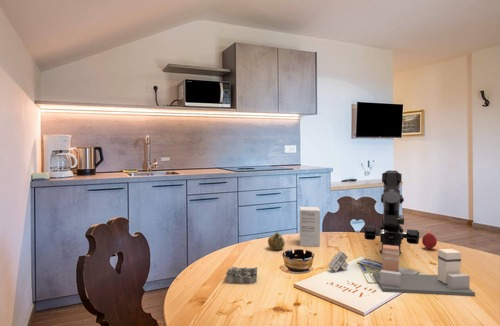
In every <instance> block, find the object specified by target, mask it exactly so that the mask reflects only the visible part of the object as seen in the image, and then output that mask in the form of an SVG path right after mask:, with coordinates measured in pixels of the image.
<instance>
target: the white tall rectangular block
mask: <svg viewBox="0 0 500 326" xmlns="http://www.w3.org/2000/svg"><path fill="white" fill-rule="evenodd" d="M437 253H438V254H437V275H438V280H440V281H442V282H444V283H445V284H447V283H448V274H461V265H462V263H461V261H462V259H461V258H462V252H460V251H459V250H456V249H454V248H443V249H440V248H439V249H438V252H437Z"/></svg>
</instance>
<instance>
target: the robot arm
mask: <svg viewBox="0 0 500 326" xmlns="http://www.w3.org/2000/svg"><path fill="white" fill-rule="evenodd" d="M402 176H403V175H402V173H400V172H398V170H386V171H384V172H382V173H381V183H382V184H383V192H382V194H381V196H380V202H381V204H382V205H383V213H382V215H383V217H382V221H381V224H380V230H377V229H376V226H374V225H373V226H371V225H366V226H364V228H363V229H364V230H363V234H364V240H369V241H374V240H376V237H379V239H380V240H379V241H380V243H381V250H380V251H379V253H382V250H383V245H392V246H399V254H401V253H402V251H401V245H402V241H403V240H404V239H406V243H407V244H409V245H411V244H412V245H418V244H419V242H420V231H419V230H418V229H408V228H407V229H406V232H404V229H403V226H402V225H405V215H404V214H400V206H401V205H402V204H403V203H404V201H405V199H404V197H403V195H402V194H401V190H400V186H401V184H402V181H403V180H402V179H403V178H402ZM400 204H401V205H400Z"/></svg>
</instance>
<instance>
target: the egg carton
mask: <svg viewBox="0 0 500 326" xmlns="http://www.w3.org/2000/svg"><path fill="white" fill-rule="evenodd" d="M225 275H226V282H227V283H229V284H234V283H239V284H244V283H247V284H250V285H252V284H255V283H257V279H258V267H257V266H255V267H249V268H248V267H246V266H245V267H236V266H232V267H230V268H228V269H227V271H226V274H225Z"/></svg>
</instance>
